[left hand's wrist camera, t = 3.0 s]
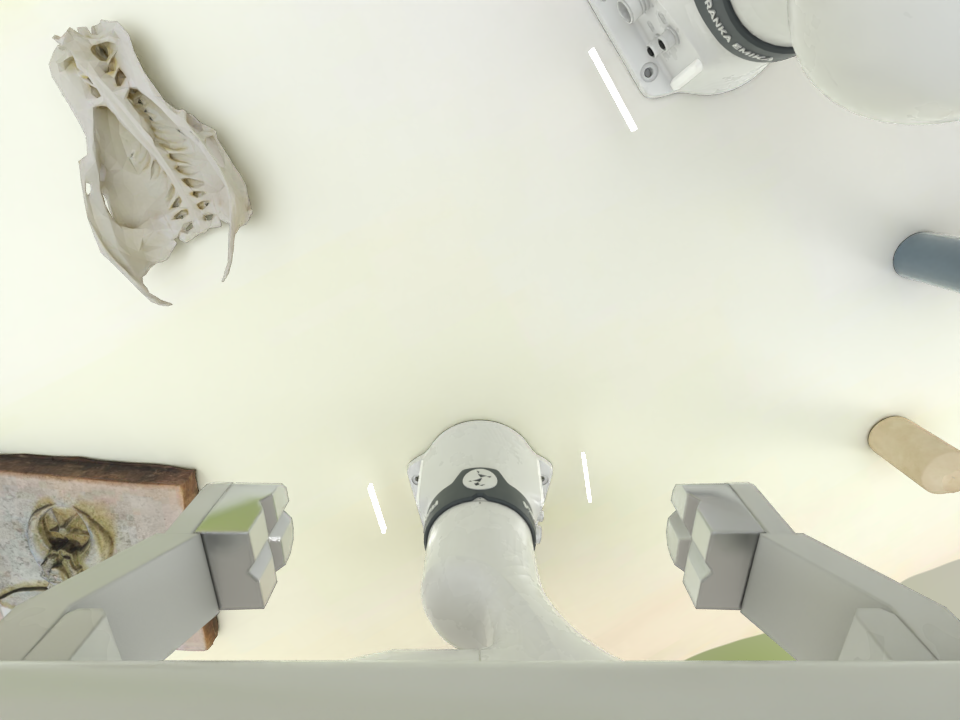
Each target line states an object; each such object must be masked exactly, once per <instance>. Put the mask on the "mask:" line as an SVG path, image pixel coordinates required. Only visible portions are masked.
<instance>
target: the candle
mask: <svg viewBox="0 0 960 720" xmlns="http://www.w3.org/2000/svg"><path fill="white" fill-rule="evenodd" d="M868 442H869V446H870V447H871V449H872V450H873V451H874V452H876V453H877V454H878V455H879V456H881V457H882V458H883V459H885V460H886V461H888V462H889V463H890V464H892V465H893V466H894V467H896V468H897V469H898V470H900V471H901V472H902V473H904V474H905V475H906V476H908V477H909V478H910V479H912V480H913V481H914V482H916V483H917V484H919V485H920V486H921V487H923V488H924V489H925V490H927V491H928V492H930V493H934V494H945V493H955V492H958V491H960V450H958V449H956V448H955V447H953V446H951V445H950V444H948V443H946V442H945V441H943V440H941V439H940V438H938V437H937V436H935V435H933V434H932V433H930V432H928V431H927V430H925V429H923V428H922V427H920V426H918V425H917V424H915V423H914V422H912V421H910V420H908V419H906V418H904V417H899V416H894V417H889V418H886V419H884V420H882V421H880V422H879V423H878V424H876V425H875V426H874V428H873V429H872V430H871V432H870V434H869V438H868Z"/></svg>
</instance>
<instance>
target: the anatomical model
mask: <svg viewBox="0 0 960 720" xmlns="http://www.w3.org/2000/svg"><path fill="white" fill-rule="evenodd" d="M91 29H92V35H91V33H90V32H89V30H88V29H87V27H78V28H77V30H78V32H76V31H75V30H73V29H72V28H70V27H69V29H68V30H67V32H66V33H65V34H64V35H63V36H62V37H59V36H57V35H54V36H53V39H54V40H55V41H57V42H58V43H59V44H60V45H58V46H57V47H56V49H55V50H54V52H53V55H52V57H51V60H50V62H49V67H50V71H51V75H52V78H53V79H54V81H55V83H56V84H57V86H58V88H59V89H60V91H61V93H62V94H63V96H64V98H65V99H66V101H67V103H68V104H69V106H70V108H71V109H72V111H73V113H74V115H75V116H76V118H77V120H78V122H79V123H80V125H81V127H82V129H83V131H84V133H85V135H86V140H87V155H86V156H85V157H84V158H82V159H81V160H80V161H79V168H80V177H81V184H82V190H83V196H84V202H85V207H86V212H87V217H88V220H89V223H90V226H91V229H92V231H93V234H94V237H95V239H96V242H97V244H98V247H99V249H100V252H101V253H102V254H103V255H104V256H105V257H106V258H107V259H108V260H109V261H110V262H111V263H112V264H113V265H114V266H115V267H116V268H117V269H118V270H119V271H120V272H121V273H122V274H124V275H125V276H126V278H127V279H128V280H129V281H130V282H131V283H132V284H133V285H134V286H135V287H136V288H137V289H138V290H139V291H140V292H141V293H142V294H143V295H144V296H146V297H147V298H148V299H149V300H150V301H151V302H153V303H155V304H158V305H162V306H170V305H172V304H171V303H168V302H165V301H163V300H160V299H159V298H157V297H156V296H154V295H152V294H150V293H149V291H148V289H147V288H146V286H145V285H144V284H143V278H142V277H143V276H145V275H146V274H147V272H148V271H149V269H150V268H151V267H152V266H154V265H155V264H156V263H159V262H164V261H165V260H167V259H168V258H169V256H170V254H171V252H172V251H173V249H174V247H175V246H176V244H177V243H176V241H175V240H174V239H175V238H177V237H179V240H181V241H183V242H185V243H187V242H188V241H190V240H191V239H193V238H194V237H196V236H197V235H198V234H200V233H205V232H206V231H207V230H208V229H209V228H216V227H221V221H223V222H227V223H229V243H228V263H227V266H226V270H225V273H224V276H223V279H222V282H224V280H225V279H226V277H227V276H228V274H229V271H230V267H231V263H232V256H233V249H234V238H235V234H236V233H237V231H238V229H239V228H240V227H241V226H243V225H246V223H247V222H248V221H249V219H250V216H251V215H252V214H253V212H252V208H251V204H250V201H249V197H248V193H247V186H246V184H245V182H244V180H243V178H242V176H241V174H240V173H239V172H238V170H237V169H236V167H235V166H234V164H233V163H232V161H231V160H230V158H229V156H228V155H227V153H226V152H225V150H224V149H223V147H222V145H221V144H220V142H219V141H218V139H217V134H216V131H215V130H214V129H213V128H211V127H209V126H207V125H204V124H202V123H200V122H199V121H198V120H197V119H196V118H195V116H194V115H191V114H189V113H187V112H186V111H185V110H184V109H181V110H177V109H175V108H174V107H172V106H171V105H169V104H168V103H167V102H166V101H165V100H164V99H163V97H162V96H161V95H160V93H159V92H158V90H157V89H156V88H155V86H154V85H153V83H152V82H151V81H150V79H149V78H148V76H147V75H146V74H145V72H144V70H143V68H142V66H141V64H140V62H139V60H138V58H137V56H136V54H135V52H134V49H133V46H132V43H131V40H130V36H129V34H128V33H127V32H126V30H125V29H124V28H123V27H122V26H121V25H120V24H119V23H118V22H117V21H106V20H101V21H100V23H99V24H98V25H95V26H92V28H91ZM139 98H140V100H141V102H142V104H143V105H142V104H140V103H138V101H139ZM145 110H146V111H147V112H144V111H145ZM150 117H151V119H152V120H153V121H152V120H150ZM177 129H178V130H180V132H179V131H178V130H177ZM132 154H133V155H132ZM131 155H132V157H131ZM86 183H90V186H91V192H90V194H89V195H87V193H86ZM102 194H103V195H104V196H105V198H106V199H107V203H108V206H109V210H110V212H111V214H110V212H109V211H108V209H107V207H106V205H105V201H104V197H103V195H102ZM207 203H209V204H208V205H207V206H206V204H207ZM177 205H178V206H177ZM212 214H213V217H212V220H208V219H207V218H206V216H208V215H212ZM111 215H112V216H111ZM182 215H183V219H182V218H179V216H182ZM112 217H113V218H112ZM220 220H221V221H220ZM190 223H192V226H193V227H192V228H191V229H190V230H188V231H187V230H186V228H187V227H188V226H189V225H190Z"/></svg>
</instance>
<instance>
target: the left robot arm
mask: <svg viewBox="0 0 960 720" xmlns="http://www.w3.org/2000/svg"><path fill="white" fill-rule="evenodd" d="M582 460H583V467H584V475H585V482H586V489H587V496H588V501H589V502H591V494H590V487H589V479H588V472H587V465H586V457H585V454H584V452H582ZM407 473H408V477H409V480H410V484H411V487H412V491H413V494H414V497H415V501H416V505H417V508H418V511H419V514H420V518H421V521H422V525H423V528H424V546H425V550H426V555H425V562H424V570H423V577H422V584H421V600H422V605H423V608H424V611H425V613H426V615H427V617H428V619H429V621H430V622H431V624H432V625H433V627H434V628H435V630H436V631H437V632H438V634H439V635H440V636H441V637H442V638H443V639H444V640H445V641H447V642H448V643H449V644H451V645H452V646H454V647H455V648H457V649H394V650H388V651H384V652H379V653H374V654H369V655H364V656H360V657H356V658H352V659H348V660H344V661H163V660H164V659H166V658H167V657H168V656H169V655H170V654H172V653H173V652H174V651H175V650H176V649H177V648H179V647H180V646H181V645H182V644H183V643H184V642H186V641H187V640H188V639H189V638H190V637H191V636H193V635H194V634H195V633H196V632H197V631H198V630H200V629H201V628H202V627H203V626H204V625H205V624H207V623H208V622H209V621H210V620H211V619H212V618H214V617H215V616H216V615H217V614H218V613H219V610H239V609H264V608H265V606H266V604H267V602H268V600H269V598H270V596H271V594H272V592H273V590H274V587H275V585H276V583H277V578H276V571H277V570H279V569H280V568H282V567H283V566H284V565H286V562H287V560H288V558H289V556H290V553H291V549H292V544H293V522H292V518H291V517H290V516H289V515H288V514H287V513H286V512H285V511H284V509H285V507H286V505H287V503H288V502H289V498H288V493H287V488H286V487H285V486H284V485H283V484H282V483H233V482H212V483H209V484H206V485H205V486H204V487H203V489H202V490H201V491H200V492H199V493H198V494H197V496H196V497H195V498H194V499H193V500H192V502H191V503H190V504H189V505H188V506H187V507H186V509H185V510H184V511H183V512H182V513H181V514H180V516H179V517H178V518H177V519H176V520H175V521H174V523H173V524H172V525H171V526H170V527H169V529H168V530H167V531H166V532H165V533H156V534H154V535H153V536H151V537H149V538H147V539H145V540H143V541H141V542H139V543H137V544H135V545H133V546H131V547H129V548H127V549H125V550H123V551H121V552H120V553H118V554H116V555H114V556H112V557H110V558H108V559H106V560H104V561H102V562H100V563H98V564H96V565H94V566H92V567H90V568H89V569H87V570H85V571H83V572H81V573H79V574H77V575H75V576H73V577H71V578H69V579H67V580H65V581H63V582H61V583H59V584H57V585H56V586H54V587H52V588H50V589H48V590H46V591H44V592H42V593H40V594H38V595H36V596H34V597H32V598H30V599H28V600H26V601H25V602H23V603H21V604H19V605H17V606H15V607H14V608H13V609H12V610H11V611H10V612H9V613H8V614H7V615H6V616H5V617H4V618H3V619H2V620H0V720H960V620H959V619H958V618H957V617H956V616H955V615H954V614H952V613H951V612H950V611H949V610H948V609H947V608H946V607H945V606H943V605H941V604H939V603H937V602H935V601H933V600H931V599H929V598H927V597H925V596H924V595H922V594H920V593H918V592H916V591H914V590H912V589H910V588H908V587H906V586H904V585H902V584H900V583H898V582H896V581H895V580H893V579H891V578H889V577H887V576H885V575H883V574H881V573H879V572H877V571H875V570H873V569H871V568H869V567H867V566H866V565H864V564H862V563H860V562H858V561H856V560H854V559H852V558H850V557H848V556H846V555H844V554H842V553H840V552H838V551H836V550H835V549H833V548H831V547H829V546H827V545H825V544H823V543H821V542H819V541H817V540H815V539H813V538H811V537H809V536H807V535H806V534H804V533H795V532H794V531H793V530H792V529H791V527H790V526H789V525H788V524H787V523H786V522H785V520H784V519H783V518H782V517H781V516H780V514H779V513H778V512H777V511H776V510H775V509H774V507H773V506H772V505H771V504H770V503H769V502H768V500H767V499H766V498H765V497H764V496H763V495H762V493H761V492H760V491H759V490H758V489H757V488H756V486H755V485H753V484H751V483H749V482H736V483H720V484H676V485H675V487H674V489H673V492H672V497H671V502H672V503H673V505H674V507H675V509H676V511H675V512H674V513H673V514H672V515H671V516H670V517H669V518H668V522H667V530H666V534H667V546H668V549H669V553H670V556H671V558H672V560H673V562H674V565H676V566H677V567H678V568H680V569H681V570H683V571H684V578H683V583H684V585H685V587H686V590H687V592H688V594H689V596H690V598H691V600H692V602H693V604H694V606H695V608H696V609H721V610H741V611H740V612H741V613H742V614H743V615H744V616H745V617H747V618H748V619H749V620H750V621H751V622H752V623H754V624H755V625H756V626H757V627H758V628H759V629H761V630H762V631H763V632H764V633H765V634H767V635H768V636H769V637H770V638H771V639H772V640H773V641H775V642H776V643H777V644H778V645H779V646H781V647H782V648H783V649H784V650H785V651H786V652H787V653H789V654H790V655H791V656H792V657H793V658H794V659H796V660H797V661H624V660H622V659H620V658H618V657H616V656H614V655H612V654H610V653H608V652H606V651H605V650H603V649H601V648H600V647H598V646H597V645H595V644H594V643H592V642H591V641H589V640H588V639H587V638H585V637H584V636H583V635H582V634H580V633H579V632H578V631H577V630H576V629H575V628H574V627H573V626H572V625H570V624H569V623H568V622H567V621H566V620H565V619H564V617H563V616H562V615H561V614H560V613H559V612H558V611H557V609H556V608H555V607H554V606H553V604H552V603H551V601H550V600H549V598H548V597H547V595H546V593H545V591H544V589H543V587H542V584H541V580H540V576H539V573H538V568H537V564H536V559H535V554H534V551H535V546H536V544H539V543H540V541H541V535H542V529H541V526H540V525H538V521H539V522H540V521H541V522H542V521H543V518H544V511H543V510H542V508H543V505H544V501H545V497H546V494H547V491H548V487H549V484H550V481H551V477H552V473H553V468H552V464H551V463H550V462H549V461H548V460H546V459H545V458H543V457H542V456H540V455H538V454H536V453H535V452H534V451H533V450H532V449H531V447H530V446H529V444H528V443H527V442H526V440H525V439H524V438H523V437H522V436H521V435H520V434H519V433H517V432H516V431H514V430H513V429H511V428H509V427H507V426H505V425H503V424H500V423H497V422H492V421H485V420H475V421H468V422H463V423H460V424H457V425H455V426H453V427H451V428H449V429H447V430H446V431H444V432H443V433H442V434H440V435H439V436H438V437H437V438H436V439H435V440H434V442H433V443H432V444H431V446H430V447H429V449H428V450H427V451H426V452H425V453H424V454H422V455H420V456H419V457H417V458H415V459H414V460H412V461H411V462H410V463H409V464H408V469H407ZM417 476H419V478H417ZM541 476H543V478H541ZM368 491H369V494H370V497H371V500H372V503H373V506H374V509H375V512H376V515H377V518H378V521H379V524H380V527H381V530H382V533H385V530H386V526H385V523H384V520H383V516H382V513H381V510H380V507H379V504H378V501H377V498H376V495H375V492H374V488H373V485H372V484H369V487H368Z"/></svg>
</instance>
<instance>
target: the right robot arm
mask: <svg viewBox="0 0 960 720" xmlns="http://www.w3.org/2000/svg"><path fill="white" fill-rule="evenodd" d="M588 2H589V3H590V5H591V7H592V8H593V10H594V12H595V14H596V15H597V17H598V19H599V21H600V22H601V24H602V26H603V27H604V29H605V31H606V33H607V34H608V36H609V38H610V40H611V41H612V43H613V45H614V46H615V48H616V50H617V52H618V53H619V55H620V57H621V58H622V60H623V62H624V64H625V65H626V67H627V69H628V71H629V72H630V74H631V76H632V77H633V79H634V81H635V83H636V84H637V86H638V88H639V89H640V91H641V93H642V94H643V95H644V96H645V97H647V98H659V97H663V96H667V95H670V94H673V93H680V92H681V93H689V94H695V95H716V94H721V93H725V92H728V91H731V90H734V89H736V88H738V87H740V86H742V85H744V84H745V83H747V82H749V81H750V80H752V79H753V78H754V77H755V76H757V75H758V74H759V73H760V72H761V71H762V70H763V69H764V68H765V67H766V66H767V65H768V64H769V63H770V62H777V61H781V60H785V59H788V58H791V57H794V56H797V58H798V61H799V63H800V65H801V67H802V69H803V70H804V72H805V73H806V75H807V76H808V78H809V79H810V81H811V82H812V83H813V84H814V86H815V87H816V88H817V89H818V90H819V91H820V92H821V93H823V94H824V95H825V96H826V97H827V98H829V99H830V100H831V101H833V102H834V103H835V104H837V105H839V106H840V107H842V108H844V109H846V110H848V111H850V112H852V113H854V114H857V115H859V116H862V117H865V118H868V119H871V120H875V121H880V122H886V123H892V124H900V125H932V124H944V123H951V122H958V121H960V0H605V1H602V0H588ZM589 54H590V56H591V58H592V59H593V61H594V63H595V65H596V67H597V69H598V70H599V72H600V74H601V76H602V78H603V80H604V82H605V83H606V85H607V87H608V89H609V91H610V93H611V94H612V96H613V98H614V100H615V102H616V104H617V106H618V107H619V109H620V111H621V113H622V115H623V117H624V119H625V120H626V122H627V124H628V126H629V128H630V130H631V131H635V130H636V129H637V127H636V125H635V123H634V121H633V120H632V118H631V116H630V114H629V112H628V110H627V108H626V107H625V105H624V103H623V101H622V99H621V97H620V95H619V94H618V92H617V90H616V88H615V86H614V84H613V82H612V80H611V79H610V77H609V75H608V73H607V71H606V69H605V67H604V66H603V64H602V62H601V60H600V58H599V56H598V54H597V52H596V51H595V49H594V47H593V48H592V49H591V50H590V51H589ZM646 68H648V69H650V71H651V76H650V77H649V78H648V77H646V76H645V74H644V72H645V69H646Z"/></svg>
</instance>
